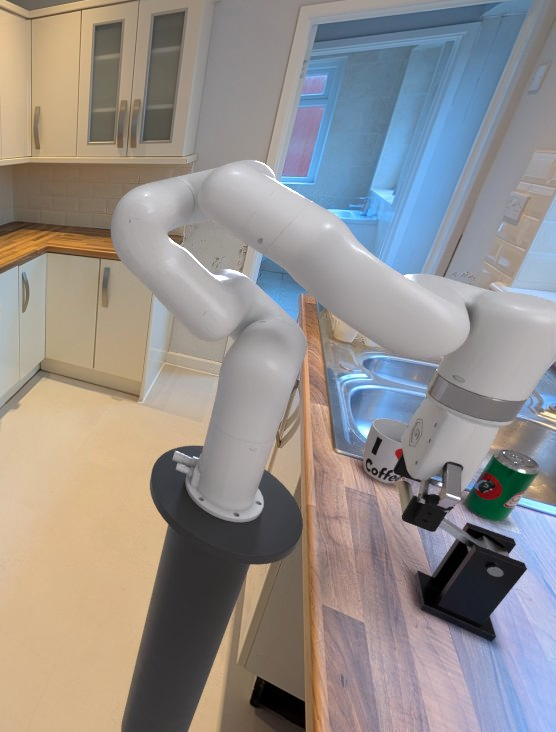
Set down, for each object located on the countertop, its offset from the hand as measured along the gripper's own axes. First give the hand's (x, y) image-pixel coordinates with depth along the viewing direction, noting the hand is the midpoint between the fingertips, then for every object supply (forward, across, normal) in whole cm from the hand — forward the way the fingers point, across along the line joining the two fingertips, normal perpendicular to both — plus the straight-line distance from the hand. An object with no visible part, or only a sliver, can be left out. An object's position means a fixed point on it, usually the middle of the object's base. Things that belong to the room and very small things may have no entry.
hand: (411, 499), depth 57 cm
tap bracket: (+15, 0, +9) cm, 17 cm away
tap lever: (+3, 0, +4) cm, 5 cm away
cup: (+15, -26, +3) cm, 30 cm away
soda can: (+15, -25, +17) cm, 34 cm away
